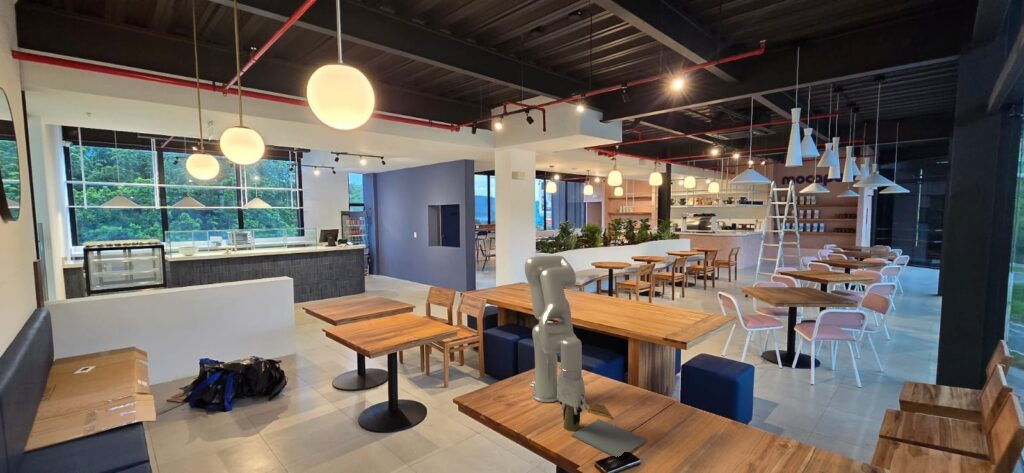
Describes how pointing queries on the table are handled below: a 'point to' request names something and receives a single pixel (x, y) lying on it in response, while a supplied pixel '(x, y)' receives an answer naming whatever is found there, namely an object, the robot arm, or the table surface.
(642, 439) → the slate mat
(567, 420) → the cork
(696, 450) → the table surface
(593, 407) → the shard
